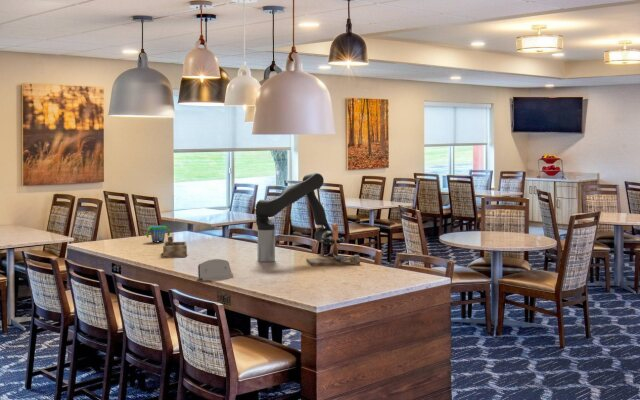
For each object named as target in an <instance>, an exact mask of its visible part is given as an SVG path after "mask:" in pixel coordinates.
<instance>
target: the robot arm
mask: <svg viewBox="0 0 640 400" xmlns="http://www.w3.org/2000/svg"><path fill="white" fill-rule="evenodd" d="M323 185H324V177H323V175H322V174H321V173H317V172H314V173H309V174H306V175H304V176H303V178H302V181H300V182H297V183H294V184H291V185H289V186H288V187H285V188H284V189H283V190H281V192H280V196H278V197H276V198H274V199H260V200H258V201H257V202H256V205H255V223H256V226H257V246H256V247H257V248H256V249H257V262H258V263H259V262H262V263H270V262H271V263H272V262H275V260H276V246H275V245H276V241H275V240H276V239H275V237H276V236H275V235H276V231H275V230H276V229H275V228H276V227H275V223H273V222H272V221H271V220H270V219H269V218H273V217H275V216H276V215H278V214H279V213H280V212H281V211H282V210H284V209H285V208H287V207H288V206H289V207H290V205H292V204H294V203H296V202H297V201H299V200H301V199H302V198H304V197H305V196H306V198H307V200H308V202H309V204H310V207H311V211H312V215H313V219H314V223H315V225H316V226H323V227H324V228H320V229H316V230H315V232H314V238H315V240H316V241H317V242H319V243H321V244H326V245H327V246H331V247H333V244H334V240H333V229H331V228H332V227H330V224H329V223H328V220H327V215H326V210H325V208H324V206H323V204H322V203H321V202H320V201H319V199H318V197H317V196H316V193H315V191H316V190H319V189H320V188H321V187H323ZM343 243H345V237H343V236H342V237H339V236H338V245H341V244H343Z"/></svg>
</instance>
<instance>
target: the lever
mask: <svg viewBox="0 0 640 400" xmlns="http://www.w3.org/2000/svg"><path fill="white" fill-rule="evenodd" d="M331 228H332V229H331V230H332V232H333V240H334V244H333V246H332V256H333V258H336V261H341V262H343V261H344V257H345V255H340V254H339V244H338V237H339V228H340V227H339V224H338V223H333V224H331Z"/></svg>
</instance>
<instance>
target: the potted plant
mask: <svg viewBox="0 0 640 400" xmlns="http://www.w3.org/2000/svg"><path fill="white" fill-rule="evenodd" d="M166 230H167V237H170V234H171V233H170V231H171V230H170V229H169V227H168V226H166V225H150V226H149V227H148V228H147V230H146V232H145V234H146V238H147V239H148V238H149V231H150V236H151V237H150V238H151V241H152V242H153V241H163V242H165V238H166V237H165V236H166Z"/></svg>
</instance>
